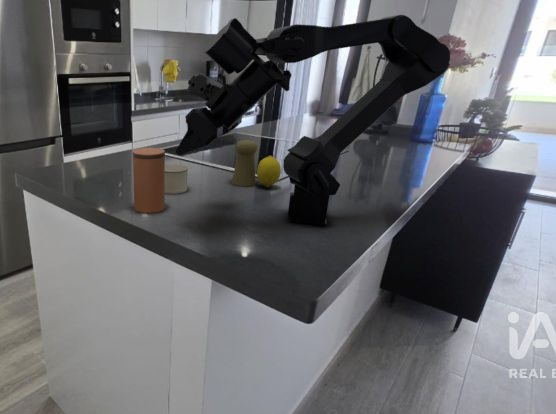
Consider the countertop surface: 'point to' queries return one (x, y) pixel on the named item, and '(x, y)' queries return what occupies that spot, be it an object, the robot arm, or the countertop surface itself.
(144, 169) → the terracotta tall cylinder
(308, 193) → the robot arm
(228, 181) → the countertop surface
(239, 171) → the cork
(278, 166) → the lemon
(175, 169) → the short cream cylinder
